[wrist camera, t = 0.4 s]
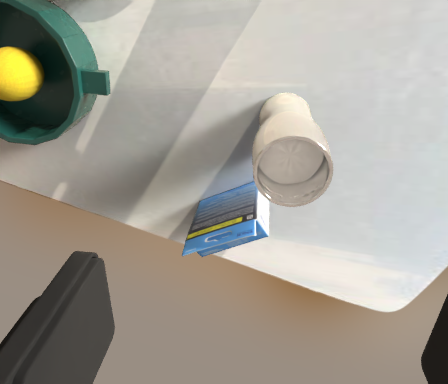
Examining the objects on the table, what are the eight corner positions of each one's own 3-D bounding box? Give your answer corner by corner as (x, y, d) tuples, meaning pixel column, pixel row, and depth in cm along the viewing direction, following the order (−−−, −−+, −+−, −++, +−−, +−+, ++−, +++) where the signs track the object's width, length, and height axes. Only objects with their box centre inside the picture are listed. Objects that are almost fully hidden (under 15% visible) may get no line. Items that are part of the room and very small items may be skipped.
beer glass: (254, 145, 46) (249, 207, 33) (255, 88, 42) (251, 132, 29) (311, 146, 45) (330, 210, 32) (317, 88, 42) (341, 134, 28)
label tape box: (211, 221, 52) (196, 282, 41) (198, 198, 50) (179, 255, 39) (269, 201, 49) (270, 261, 39) (258, 176, 48) (255, 231, 37)
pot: (-69, -16, 40) (-112, -16, 36) (116, 1, 39) (97, 3, 35) (-32, 120, 48) (-64, 134, 43) (124, 137, 47) (109, 153, 42)
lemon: (57, 95, 45) (18, 115, 38) (12, 84, 45) (-35, 102, 38) (56, 48, 42) (15, 60, 35) (9, 36, 42) (-43, 46, 35)
